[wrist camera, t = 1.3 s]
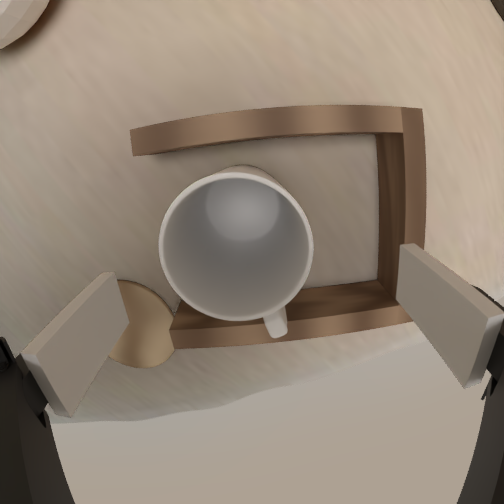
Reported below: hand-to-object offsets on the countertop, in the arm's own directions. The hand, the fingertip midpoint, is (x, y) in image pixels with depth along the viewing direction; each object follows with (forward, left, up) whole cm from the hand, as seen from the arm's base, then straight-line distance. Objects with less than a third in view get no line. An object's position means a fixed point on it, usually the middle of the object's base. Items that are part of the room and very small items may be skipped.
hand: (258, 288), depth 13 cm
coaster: (-13, -9, -12) cm, 20 cm away
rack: (+2, 0, -12) cm, 12 cm away
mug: (0, 0, -13) cm, 13 cm away
